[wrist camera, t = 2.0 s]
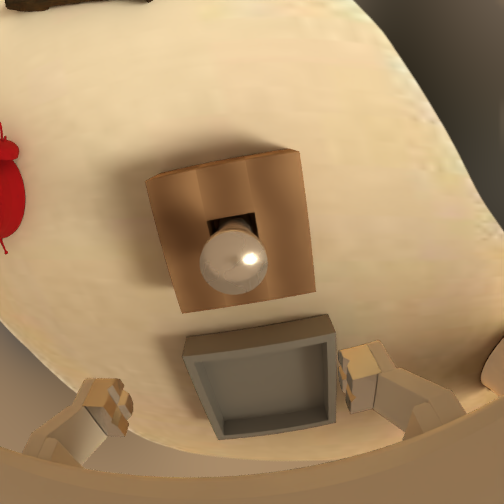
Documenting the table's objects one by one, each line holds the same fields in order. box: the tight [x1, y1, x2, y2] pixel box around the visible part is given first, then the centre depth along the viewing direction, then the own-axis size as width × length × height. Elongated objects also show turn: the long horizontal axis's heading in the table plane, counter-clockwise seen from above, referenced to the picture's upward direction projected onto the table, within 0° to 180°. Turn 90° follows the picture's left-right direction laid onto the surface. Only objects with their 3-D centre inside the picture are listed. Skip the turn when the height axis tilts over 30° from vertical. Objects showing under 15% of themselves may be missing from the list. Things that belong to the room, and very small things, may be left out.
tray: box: [182, 314, 337, 440], centre depth 35 cm, size 16×16×4 cm
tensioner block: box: [145, 149, 316, 313], centre depth 27 cm, size 12×12×5 cm
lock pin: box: [200, 214, 268, 295], centre depth 24 cm, size 4×4×9 cm
